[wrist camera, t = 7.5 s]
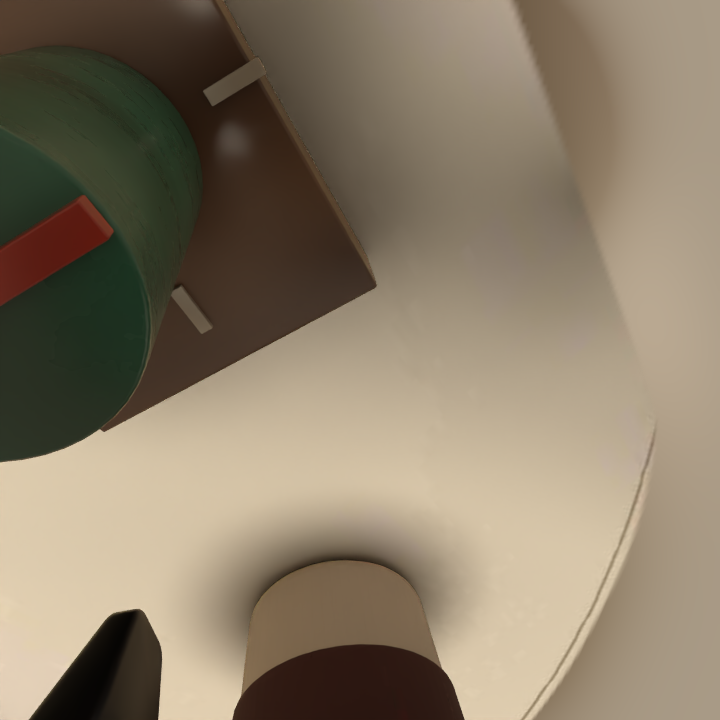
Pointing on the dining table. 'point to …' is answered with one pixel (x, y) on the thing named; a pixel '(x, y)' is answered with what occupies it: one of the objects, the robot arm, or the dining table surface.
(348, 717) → the coffee cup
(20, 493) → the dining table surface
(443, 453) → the dining table surface
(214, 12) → the brown board with bars
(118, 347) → the green drum
